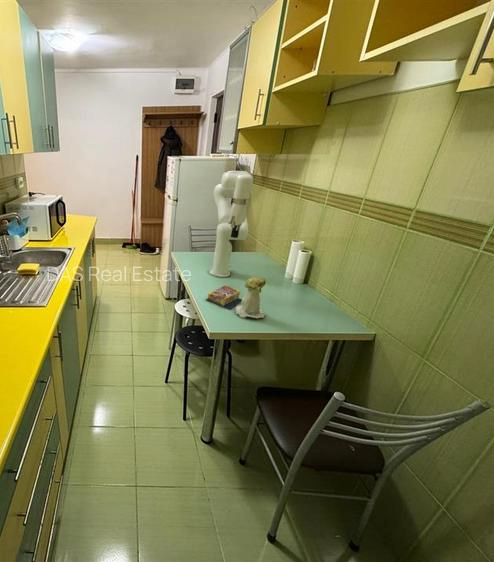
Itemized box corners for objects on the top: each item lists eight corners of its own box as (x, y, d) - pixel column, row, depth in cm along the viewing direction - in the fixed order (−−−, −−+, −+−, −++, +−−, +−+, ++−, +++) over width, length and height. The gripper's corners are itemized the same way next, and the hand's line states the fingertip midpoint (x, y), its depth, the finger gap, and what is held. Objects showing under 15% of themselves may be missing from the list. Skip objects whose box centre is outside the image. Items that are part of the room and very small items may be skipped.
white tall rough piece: (268, 321, 136) (278, 284, 129) (239, 319, 137) (247, 282, 129) (259, 308, 147) (267, 273, 140) (232, 307, 148) (239, 272, 140)
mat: (219, 292, 163) (219, 291, 163) (242, 300, 155) (243, 299, 155) (206, 300, 154) (206, 299, 154) (230, 309, 146) (230, 308, 146)
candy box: (240, 290, 155) (223, 299, 146) (239, 298, 156) (222, 307, 148) (225, 284, 161) (208, 292, 152) (224, 291, 163) (206, 300, 154)
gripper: (240, 198, 157) (234, 233, 165) (226, 202, 148) (220, 238, 156) (254, 200, 153) (247, 236, 160) (241, 204, 143) (234, 241, 151)
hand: (234, 237), depth 158 cm, fingers closed
